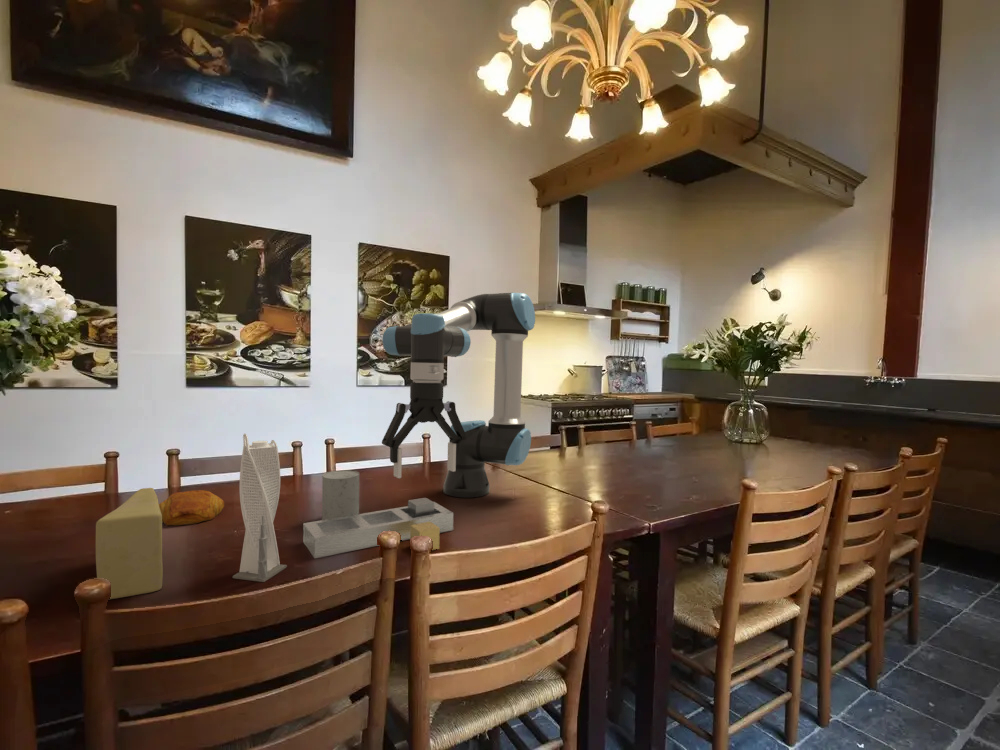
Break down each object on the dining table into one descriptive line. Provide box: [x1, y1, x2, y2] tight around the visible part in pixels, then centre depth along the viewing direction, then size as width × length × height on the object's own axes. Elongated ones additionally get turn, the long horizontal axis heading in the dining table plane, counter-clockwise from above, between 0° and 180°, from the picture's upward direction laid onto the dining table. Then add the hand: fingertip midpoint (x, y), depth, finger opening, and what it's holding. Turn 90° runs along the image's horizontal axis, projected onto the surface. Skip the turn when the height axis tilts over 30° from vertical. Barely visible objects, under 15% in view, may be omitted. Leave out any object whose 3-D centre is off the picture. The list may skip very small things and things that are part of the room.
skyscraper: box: [232, 433, 288, 583], centre depth 99 cm, size 8×8×28 cm
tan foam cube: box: [409, 522, 441, 551], centre depth 114 cm, size 5×5×5 cm
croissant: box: [159, 489, 225, 526], centre depth 131 cm, size 14×16×8 cm
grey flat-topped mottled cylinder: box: [321, 469, 360, 520], centre depth 132 cm, size 10×10×12 cm
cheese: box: [95, 487, 164, 600], centre depth 98 cm, size 22×10×15 cm, turn 28°
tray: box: [302, 497, 454, 559], centre depth 120 cm, size 11×34×7 cm, turn 124°
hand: (425, 473), depth 113 cm, fingers open, 13 cm apart
